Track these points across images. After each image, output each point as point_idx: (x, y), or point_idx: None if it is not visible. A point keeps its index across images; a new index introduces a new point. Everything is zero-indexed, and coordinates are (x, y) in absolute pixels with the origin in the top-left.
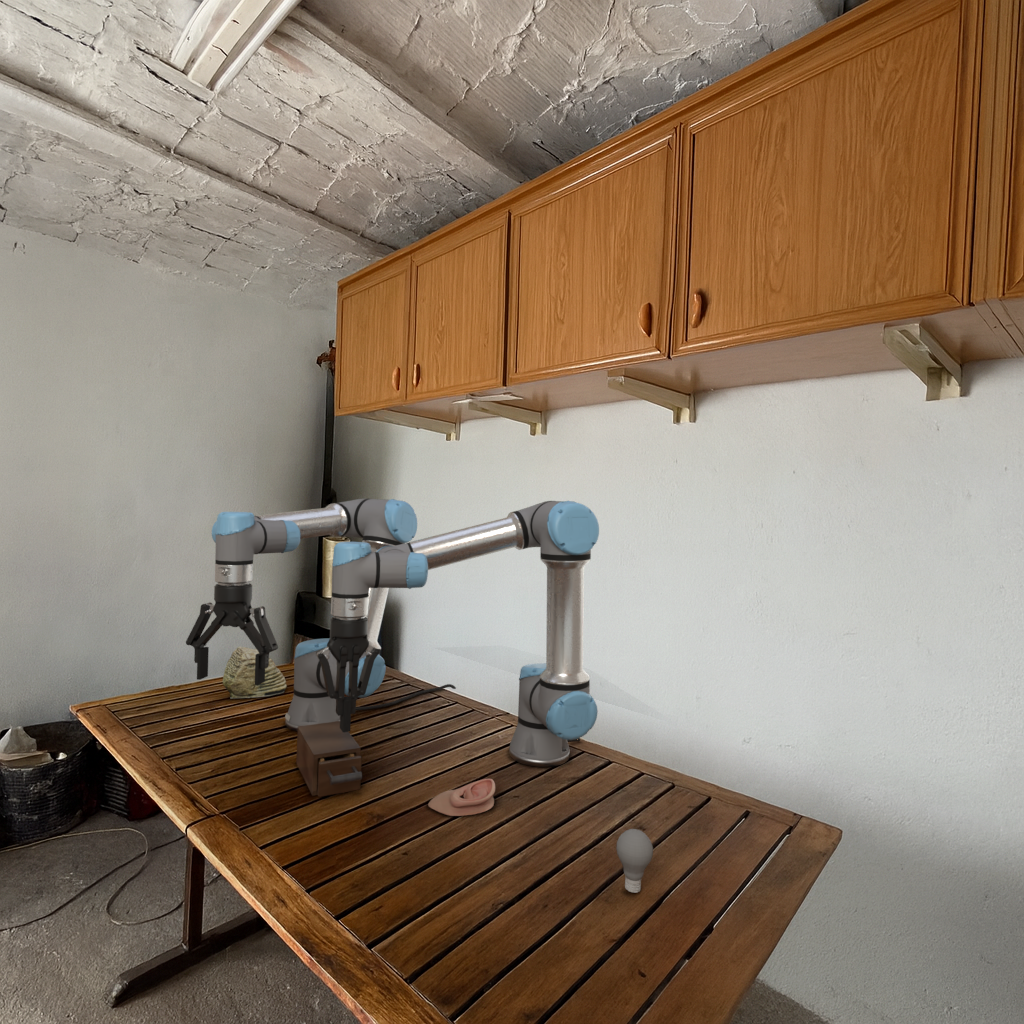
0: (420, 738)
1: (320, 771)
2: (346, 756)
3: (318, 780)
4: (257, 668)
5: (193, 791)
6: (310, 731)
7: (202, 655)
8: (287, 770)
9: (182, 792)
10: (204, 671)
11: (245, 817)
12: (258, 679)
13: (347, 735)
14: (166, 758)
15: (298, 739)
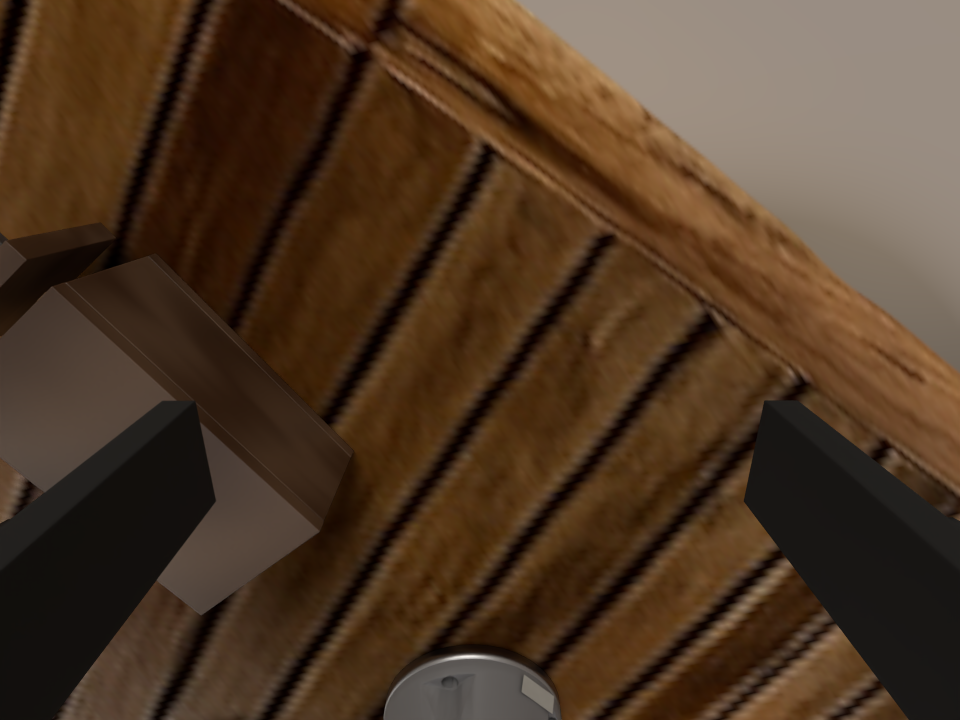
0: (107, 680)
1: (27, 237)
2: None
3: (68, 237)
4: (55, 492)
5: (558, 182)
6: (237, 500)
7: (931, 594)
8: (351, 401)
9: (591, 165)
10: (784, 493)
11: (264, 44)
12: (132, 432)
13: None
14: (792, 385)
15: (313, 487)
